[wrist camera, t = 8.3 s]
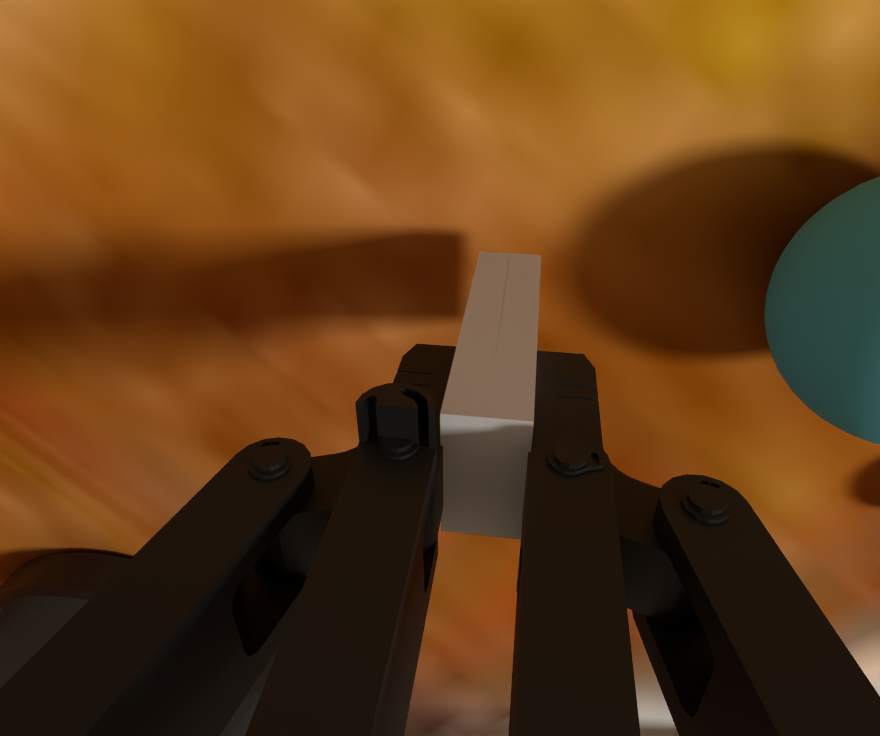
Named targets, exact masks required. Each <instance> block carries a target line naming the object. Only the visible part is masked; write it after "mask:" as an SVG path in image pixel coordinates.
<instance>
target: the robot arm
mask: <svg viewBox="0 0 880 736" xmlns="http://www.w3.org/2000/svg"><path fill="white" fill-rule="evenodd" d="M540 266H541V255H532V254H513V253H495V252H480V253H479V257H478V261H477V265H476V269H475V273H474V277H473V281H472V285H471V289H470V293H469V297H468V302H467V306H466V310H465V314H464V318H463V322H462V326H461V330H460V334H459V338H458V342H457V346H456V347H454V346H440V345H426V344H416V345H415V346H414V347H413V348H412V349H411V350H409V351H408V352H407V353H406V354H405V355H403V357H402V360H401V363H400V365H399V368H398V372H397V373H396V376H395V379H394V382H393V383H388V384H384V385H380V386H377V387H373V388H372V389H370V390H368V391H367V392H365V393H363V394H362V395H361V396H360V398H359V399H358V400H357V401H356V413H357V423H358V433H359V444H358V447H356V448H353V449H351V450H348V451H346V452H341V453H337V454H331V455H324V456H316V457H311V454H310V452H309V451H308V449H307V448H306V447H305V445H304V444H302V443H300V442H298V441H296V440H293V439H287V438H279V437H278V438H271V439H263V440H261V441H258V442H256V443H253V444H250V445H248V446H247V447H245V448H244V449H243V450H241V451H240V452H239V453H237V454H236V455H235V456H234V457H233V458H232V459H231V460H230V461H229V462H228V463H227V464H226V465H225V466H224V467H223V468H222V469H221V470H220V471H219V472H218V473H217V474H216V475H215V476H214V477H213V478H212V479H211V480H210V481H209V482H208V483H207V484H206V485H205V486H204V487H203V488H202V489H201V490H200V491H199V492H198V493H197V494H196V495H195V496H194V497H193V498H192V499H191V500H190V501H189V502H188V503H187V504H186V505H185V506H184V507H183V508H182V509H181V510H180V511H179V512H178V513H177V514H176V515H175V516H174V517H173V518H172V519H171V520H170V521H169V522H168V523H167V524H166V525H165V526H164V527H163V528H161V529H160V530H159V531H158V532H157V533H156V534H155V535H154V536H153V537H152V538H151V539H150V540H149V541H148V542H147V543H146V544H145V545H144V546H143V547H142V548H141V549H140V550H139V551H138V552H137V553H136V554H135V555H134V556H133V557H132V558H131V559H128V558H123V557H118V556H112V555H106V554H97V553H60V554H53V555H48V556H44V557H40V558H37V559H34V560H32V561H29V562H27V563H25V564H24V565H22V566H20V567H19V568H18V569H16V570H15V571H14V572H13V573H12V574H11V575H10V577H9V578H8V579H7V580H6V581H5V582H4V583H3V585H2V586H1V587H0V736H404V732H405V727H406V721H407V716H408V711H409V705H410V700H411V695H412V689H413V684H414V679H415V673H416V668H417V663H418V657H419V652H420V647H421V642H422V636H423V631H424V626H425V620H426V615H427V610H428V604H429V599H430V594H431V588H432V583H433V578H434V572H435V567H436V562H437V556H438V531H439V526H440V521H441V531H450V532H459V533H468V534H477V535H486V536H495V537H504V538H513V539H521V548H520V559H519V569H518V580H517V591H516V592H517V605H516V622H515V638H514V655H513V671H512V688H511V704H510V721H509V736H640V728H639V718H638V709H637V699H636V690H635V681H634V671H633V662H632V653H631V643H630V634H629V624H628V615H627V608H629V609H631V610H632V613H633V618H634V621H635V623H636V626H637V628H638V631H639V633H640V636H641V639H642V641H643V644H644V646H645V649H646V651H647V654H648V657H649V659H650V662H651V664H652V667H653V669H654V672H655V675H656V677H657V680H658V682H659V685H660V687H661V690H662V693H663V695H664V698H665V700H666V703H667V705H668V708H669V711H670V713H671V716H672V718H673V721H674V723H675V726H676V729H677V731H678V734H679V736H880V696H879V695H878V693H877V692H876V690H875V689H874V687H873V686H872V684H871V683H870V681H869V680H868V679H867V677H866V676H865V674H864V673H863V671H862V670H861V668H860V667H859V665H858V664H857V662H856V661H855V659H854V658H853V656H852V655H851V653H850V652H849V650H848V649H847V648H846V646H845V645H844V643H843V642H842V640H841V639H840V637H839V636H838V634H837V633H836V631H835V630H834V628H833V627H832V625H831V624H830V622H829V621H828V619H827V618H826V617H825V615H824V614H823V612H822V611H821V609H820V608H819V606H818V605H817V603H816V602H815V600H814V599H813V597H812V596H811V594H810V593H809V591H808V590H807V588H806V587H805V586H804V584H803V583H802V581H801V580H800V578H799V577H798V575H797V574H796V572H795V571H794V569H793V568H792V566H791V565H790V563H789V562H788V560H787V559H786V557H785V556H784V555H783V553H782V552H781V550H780V549H779V547H778V546H777V544H776V543H775V541H774V540H773V538H772V537H771V535H770V534H769V532H768V531H767V529H766V528H765V526H764V525H763V523H762V522H761V521H760V519H759V518H758V516H757V515H756V513H755V512H754V510H753V509H752V507H751V506H750V504H749V503H748V502H747V500H746V499H745V498H744V497H743V496H742V495H741V494H740V493H739V492H738V491H737V490H735V489H734V488H732V487H730V486H729V485H727V484H725V483H724V482H722V481H720V480H716V479H713V478H710V477H707V476H703V475H688V474H687V475H682V476H678V477H673V478H672V479H670V480H669V481H668V482H666V483H665V484H664V485H663V486H662V489H661V488H658V487H655V486H652V485H649V484H646V483H643V482H640V481H638V480H635V479H633V478H631V477H628V476H627V475H625V474H624V473H622V472H621V471H619V470H618V469H617V468H616V467H614V466H613V465H612V464H611V462H610V460H609V457H608V455H607V454H606V453H605V452H604V449H603V444H602V434H601V423H600V413H599V403H598V392H597V382H596V372H595V368H594V367H593V365H592V364H591V363H590V362H589V360H588V359H587V358H586V356H585V355H584V354H574V353H560V352H546V351H537V336H538V313H539V290H540ZM279 646H280V647H279Z"/></svg>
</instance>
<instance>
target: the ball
mask: <svg viewBox="0 0 880 736" xmlns="http://www.w3.org/2000/svg"><path fill="white" fill-rule="evenodd" d="M765 330H766V336H767V341H768V345H769V349H770V352H771V354H772V357H773V359H774V361H775V364H776V366H777V368H778V370H779V372H780V374H781V375H782V377H783V378H784V380H785V381H786V383H787V384H788V386H789V387H790V388H791V390H792V391H793V392H794V393H795V394H796V395H797V396H798V398H799V399H800V400H801V401H802V402H803V403H804V404H805V405H806V406H807V407H808V408H809V409H811V410H812V411H813V412H815V413H816V414H817V415H819V416H820V417H821V418H822V419H824V420H826V421H827V422H829V423H831V424H832V425H834V426H836V427H838V428H839V429H841V430H843V431H845V432H846V433H849V434H851V435H854V436H856V437H859V438H861V439H864V440H867V441H870V442H873V443H876V444H880V176H879V177H877V178H874V179H871V180H869V181H866V182H864V183H861V184H859V185H857V186H856V187H854V188H852V189H850V190H849V191H847V192H845V193H843V194H841V195H840V196H838V197H836V198H835V199H833V200H832V201H831V202H829V203H828V204H826V205H825V206H824V207H823V208H821V209H820V210H819V211H818V212H816V213H815V214H814V215H813V216H812V217H811V218H810V219H809V220H807V221H806V222H805V224H804V225H803V226H802V227H801V228H800V229H799V230H798V231H797V233H796V234H795V235H794V237H793V238H792V239H791V241H790V242H789V243H788V245H787V246H786V248H785V249H784V251H783V252H782V254H781V256H780V258H779V260H778V262H777V264H776V266H775V268H774V271H773V273H772V276H771V279H770V282H769V285H768V290H767V295H766V303H765Z"/></svg>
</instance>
